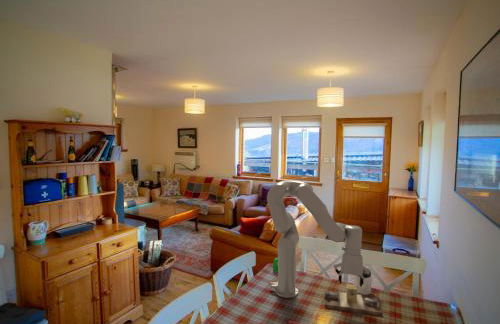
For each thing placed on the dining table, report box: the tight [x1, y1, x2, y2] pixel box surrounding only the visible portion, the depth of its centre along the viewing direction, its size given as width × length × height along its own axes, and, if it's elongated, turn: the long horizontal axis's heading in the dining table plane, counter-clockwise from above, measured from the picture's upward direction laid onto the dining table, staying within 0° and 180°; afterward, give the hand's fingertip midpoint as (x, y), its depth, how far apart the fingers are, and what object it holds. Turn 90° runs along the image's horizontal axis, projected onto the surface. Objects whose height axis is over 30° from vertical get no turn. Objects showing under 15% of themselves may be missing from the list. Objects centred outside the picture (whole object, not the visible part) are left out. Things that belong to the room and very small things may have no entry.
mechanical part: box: [272, 257, 278, 274], centre depth 184 cm, size 12×6×8 cm, turn 130°
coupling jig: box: [324, 290, 383, 316], centre depth 145 cm, size 26×14×4 cm, turn 76°
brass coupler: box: [345, 283, 358, 303], centre depth 145 cm, size 5×6×7 cm
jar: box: [353, 270, 372, 296], centre depth 158 cm, size 9×8×12 cm
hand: (350, 284), depth 145 cm, fingers open, 9 cm apart
